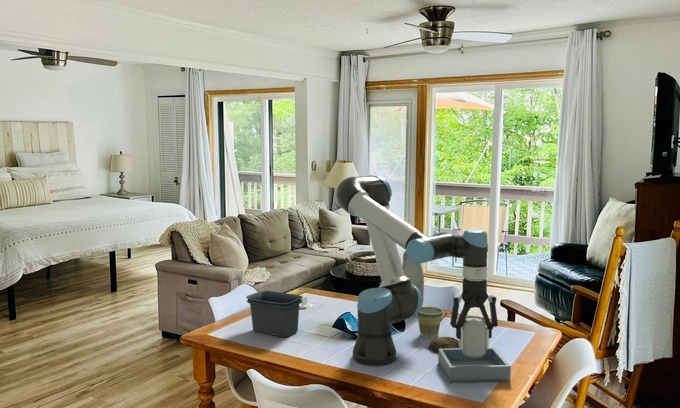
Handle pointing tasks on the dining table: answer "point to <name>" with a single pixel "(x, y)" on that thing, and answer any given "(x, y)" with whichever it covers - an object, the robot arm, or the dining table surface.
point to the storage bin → (274, 312)
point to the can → (474, 336)
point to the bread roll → (443, 343)
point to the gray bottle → (414, 274)
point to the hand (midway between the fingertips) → (473, 347)
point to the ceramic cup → (430, 321)
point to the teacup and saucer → (304, 303)
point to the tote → (473, 366)
